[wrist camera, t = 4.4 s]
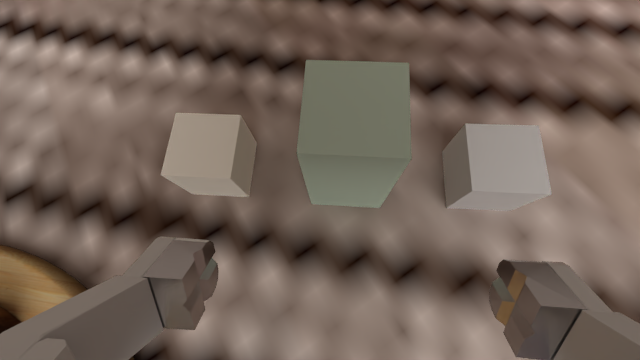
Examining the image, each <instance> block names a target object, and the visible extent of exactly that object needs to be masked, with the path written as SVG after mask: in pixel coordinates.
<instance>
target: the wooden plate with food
mask: <svg viewBox="0 0 640 360" xmlns="http://www.w3.org/2000/svg"><path fill="white" fill-rule="evenodd" d="M86 290H87V289H86V288H85V287H84V286H83V285H82V284H81V283H79V282H78V281H77V280H76V279H74V278H73V277H72V276H70V275H69V274H67V273H66V272H65V271H63V270H62V269H60V268H58V267H56V266H54V265H53V264H51V263H49V262H47V261H45V260H43V259H41V258H39V257H37V256H34V255H32V254H29V253H26V252H24V251H21V250H18V249H15V248H12V247H8V246H3V245H0V334H1V333H2V332H4V331H6V330H8V329H10V328H12V327H14V326H16V325H18V324H20V323H22V322H24V321H26V320H28V319H30V318H32V317H34V316H36V315H38V314H40V313H42V312H44V311H46V310H48V309H50V308H52V307H54V306H56V305H58V304H60V303H62V302H64V301H66V300H68V299H70V298H72V297H74V296H76V295H78V294H80V293H82V292H84V291H86ZM128 360H134V357H133V356H132V357H131V358H130V359H128Z"/></svg>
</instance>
